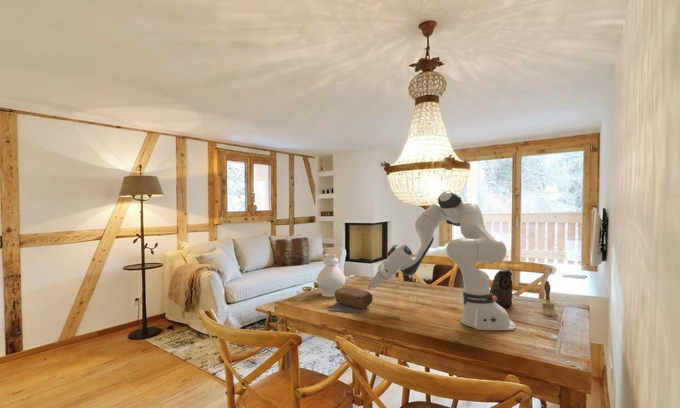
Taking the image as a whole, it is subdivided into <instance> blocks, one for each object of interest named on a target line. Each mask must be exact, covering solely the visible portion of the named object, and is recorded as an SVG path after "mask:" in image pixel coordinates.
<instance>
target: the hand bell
mask: <svg viewBox="0 0 680 408" xmlns="http://www.w3.org/2000/svg"><path fill="white" fill-rule="evenodd" d="M543 289H544V292H545V301H542V306H541V309H539V311H538V313H539V315H543V316H547V317H557V316H559V313H558V312H557V311H556V309H555V305H554V303H553V302H552V301H551V296H550V292H551V284H550V282H549V280H545V282H544V287H543Z"/></svg>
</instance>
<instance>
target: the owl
mask: <svg viewBox="0 0 680 408" xmlns="http://www.w3.org/2000/svg"><path fill="white" fill-rule="evenodd" d="M512 275H513V273H512V271H511V269H510V267H509V266H508V267H504V268H501V269H499V270H498V271H497V272H496V274H495V275H494V277H493V280H492V283H491V285H490V293H492V294H493V295H494V296H496V298H497V300H496V301H495V302H496V303H497V304H499V305H500V306H501V307H502V308H504V309H505V310H506V309H510V308H511V307H513V301H512V300H513V280H512Z"/></svg>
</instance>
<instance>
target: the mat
mask: <svg viewBox="0 0 680 408" xmlns="http://www.w3.org/2000/svg"><path fill="white" fill-rule="evenodd" d="M366 309H367V307H366V308H364V309H358V308H353V307H350V306H347V305H344V304H341V303H340V302H337V301H336V302H335V304H334V305H332V306H331V307H330V308H329V309H328V311H329V312H335V313H336V312H337V313H352V314H354V313H356V314H363V313H364V312H365V310H366Z"/></svg>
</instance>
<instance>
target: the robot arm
mask: <svg viewBox="0 0 680 408" xmlns="http://www.w3.org/2000/svg"><path fill="white" fill-rule="evenodd" d="M437 202H438V203H432V204H431V205H430V206H429V207H428V208H426V209H425V210H423V212H421V213H420V215H419V216H418V217H417V219H416V220H415V221H414V222H415V223H414V227H415V231H416V234H417V236H418V238H419V240H420V247H419V249H418V251H417V252H416V254H415V256H414V257H413V252H412V249H411V248H410V247H408V245H406V244H401V245H399V244H393V245H392V246H391V247H390V248H389V249H388V250H387V251H386V257H387V258H386V259H384V260H383V261H382V262H381V263H380V264H379V265H378V269H377V272H376V274H375V275H374V276H373V277H372V279H371V280H369V283H368V284H369V285H368V286H367V287H366V288H367V289H368V290H371V289H372V288H373V289H375V288H377V287H379V286H380V285H381V284H382V283H384V281H387V280H389V279H392V277H394V276H395V275H396V274H397V273H398V271H399V270H400V272H401V273H402V274H403V275H404V276H409V277H411V276H413V275H414V274H416V273H417V271H418V269H419V267H420V265H421V263H422V261H423V260H424V258H425V256H426V254H427V253H428V251H429V250H430V248H431V246H432V244H433V243H434V240H435V238H434V232H435V230H436V229H437V228H438V226H439V225H440V224H441V223H442V222H444V221H446V222H445V223H447V224H449V225H452V226H456V227H460V232H461V233H460V234H461V235H462V236H463V238H455V239H452V240H449V242H448V243H447V245H446V254H447V257H448V258H449V259H450V260H451V261H452V262H454V263H455V264H456V265H457V266H458V268H459V270H460V272H461V275H462V279H463V291H462V303H463V310H462V311H463V312H462V314H461V315H462V316H461V320H460V322H461V324H463V325H464V326H467V327H471V328H473V329H475V330H478V331H514V330H515V329H516V325H515V322H514V321H512V320H511V319H510V316H509V314H508V312H507V310H506V309H504V308H502V307H501V306H500V305H499V304H497V303H496V302H495V301H496V300H497V298H496V296H494V295H493V294H492V293H490V289H491V285H490V277H489V275H488V274H487V273H486V272H485V271H483V270H482V269H479V268H477V267H476V266H475V263H484V264H486V263H487V264H489V263H491V264H492V263H498V262H502V261H504V259H505V258H506V255H507V252H508V251H507V247H506V244H505V243H504V242H503V241H502V240H501V239H499V238H496V237H494V236H493V235H492V234H490V232H489V231H488V230H487V229H486V226H485V223H484V218H483V213H482V211H481V207H480V206H479V205H478V204H477V203H476V202H473V201H466V202H463V200H462V197H461V196H459V195H458V194H457V193H456V192H454V191H452V190H446V191H444V192H442V193H441V194H440V195H439V196H438V198H437ZM433 206H434V207H433Z"/></svg>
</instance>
